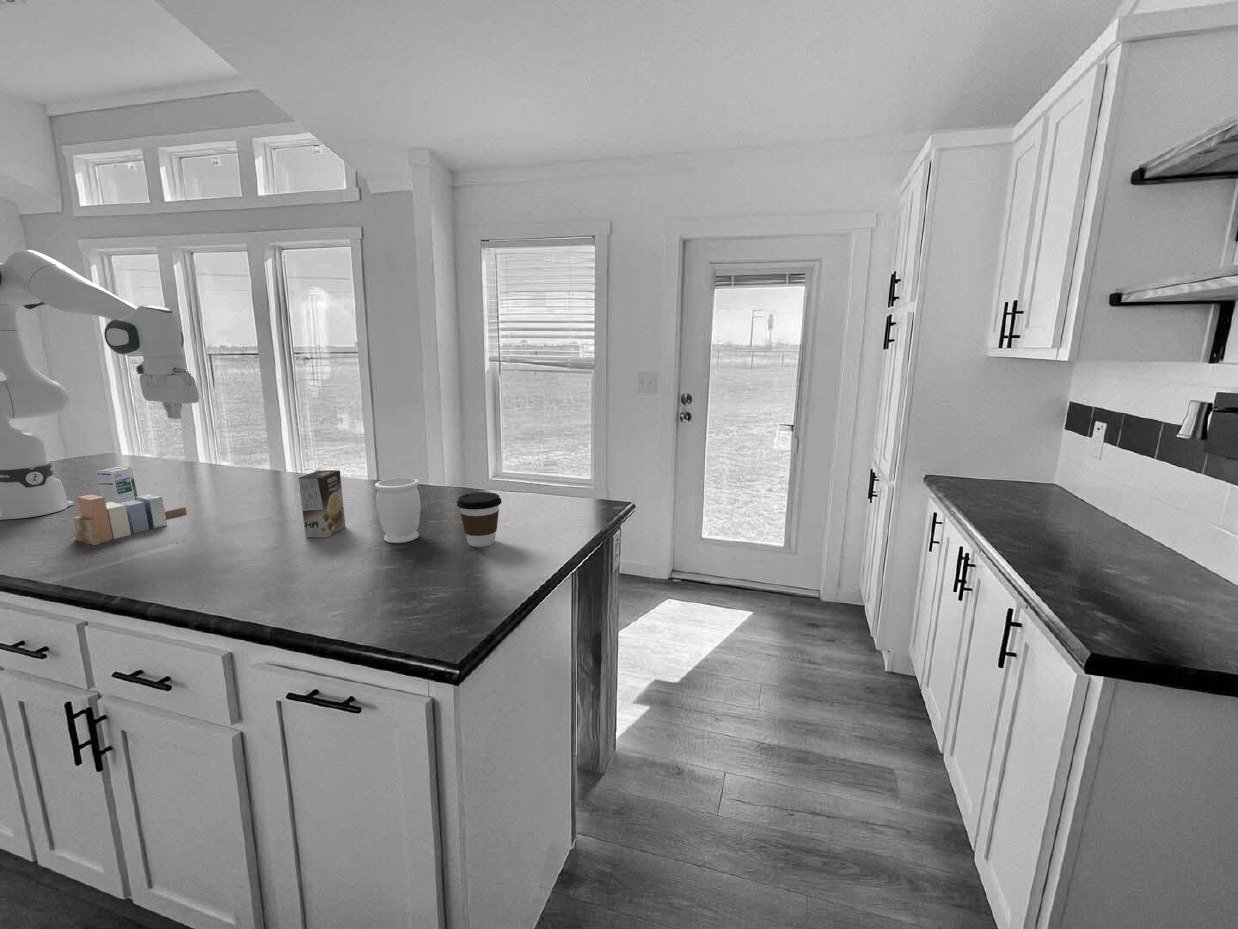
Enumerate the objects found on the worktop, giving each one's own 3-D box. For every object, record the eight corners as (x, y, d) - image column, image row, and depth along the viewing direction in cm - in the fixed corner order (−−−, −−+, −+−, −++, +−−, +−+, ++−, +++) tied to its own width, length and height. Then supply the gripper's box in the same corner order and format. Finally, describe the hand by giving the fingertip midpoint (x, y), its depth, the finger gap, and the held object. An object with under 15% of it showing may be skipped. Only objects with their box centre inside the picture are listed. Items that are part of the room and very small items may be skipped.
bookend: (140, 525, 156) (135, 496, 154) (153, 522, 158) (148, 494, 156) (154, 528, 153) (149, 499, 151) (167, 525, 155) (162, 496, 154)
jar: (431, 535, 151) (427, 479, 148) (401, 547, 142) (396, 488, 138) (401, 529, 155) (396, 475, 152) (370, 541, 146) (365, 484, 143)
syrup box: (121, 520, 163) (112, 471, 160) (105, 519, 164) (95, 470, 161) (141, 515, 168) (132, 466, 165) (125, 513, 170) (116, 466, 167)
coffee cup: (450, 547, 142) (447, 500, 139) (475, 533, 152) (473, 489, 149) (488, 552, 138) (485, 505, 135) (511, 538, 148) (509, 493, 145)
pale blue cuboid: (123, 530, 152) (118, 503, 150) (138, 526, 155) (133, 500, 153) (134, 533, 149) (128, 505, 148) (149, 529, 152) (144, 502, 151)
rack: (76, 543, 145) (70, 517, 143) (185, 516, 167) (181, 493, 165) (95, 548, 141) (89, 521, 140) (203, 520, 163) (199, 496, 162)
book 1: (86, 538, 145) (77, 497, 143) (99, 535, 148) (91, 494, 145) (99, 542, 142) (90, 500, 140) (112, 539, 145) (104, 497, 143)
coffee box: (328, 538, 149) (322, 477, 145) (304, 537, 149) (297, 477, 145) (346, 526, 158) (340, 469, 154) (323, 526, 158) (317, 469, 154)
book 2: (99, 535, 148) (93, 505, 146) (116, 531, 151) (110, 501, 149) (114, 539, 145) (108, 508, 143) (131, 534, 148) (125, 505, 146)
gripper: (201, 367, 153) (209, 419, 156) (158, 366, 162) (166, 415, 165) (175, 368, 148) (184, 422, 151) (132, 367, 156) (141, 418, 159)
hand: (174, 418), depth 158 cm, fingers closed
